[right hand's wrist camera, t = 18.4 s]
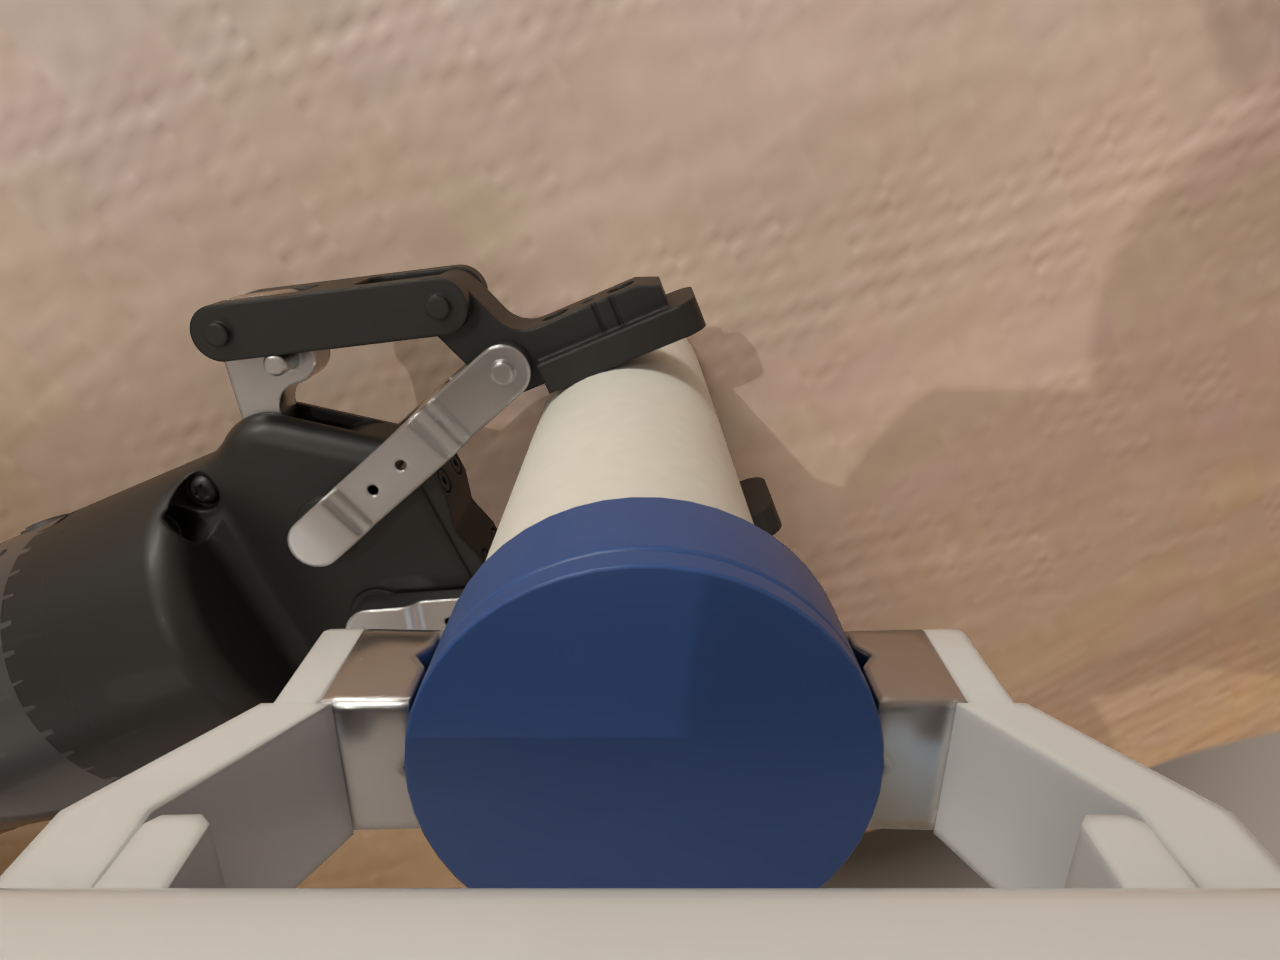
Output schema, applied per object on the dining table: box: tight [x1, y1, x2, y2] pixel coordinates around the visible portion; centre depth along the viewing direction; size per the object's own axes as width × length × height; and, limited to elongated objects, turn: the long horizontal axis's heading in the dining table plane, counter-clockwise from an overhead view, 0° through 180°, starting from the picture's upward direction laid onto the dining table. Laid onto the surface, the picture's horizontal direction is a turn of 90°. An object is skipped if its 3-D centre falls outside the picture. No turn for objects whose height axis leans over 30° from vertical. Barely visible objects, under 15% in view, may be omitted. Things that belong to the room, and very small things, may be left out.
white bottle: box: [486, 338, 754, 560], centre depth 17 cm, size 4×4×17 cm
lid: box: [404, 497, 884, 888], centre depth 9 cm, size 5×5×2 cm
